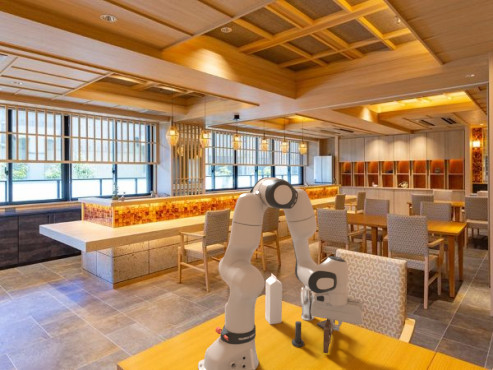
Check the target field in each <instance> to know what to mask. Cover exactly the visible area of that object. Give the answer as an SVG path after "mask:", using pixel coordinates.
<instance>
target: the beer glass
mask: <svg viewBox="0 0 493 370" xmlns="http://www.w3.org/2000/svg"><path fill="white" fill-rule="evenodd" d="M314 294H315V292H313V291H311V290H310V289H309V288H308V287H307V286H306V285H305V284H303V285H302V286H301V288H300V304H301V319H302V320H303V321H306V322H307V321H313V320H315V317H314V316H312V315H311V305H312V302H313V300H314Z"/></svg>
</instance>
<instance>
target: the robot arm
mask: <svg viewBox="0 0 493 370" xmlns="http://www.w3.org/2000/svg"><path fill="white" fill-rule="evenodd" d="M269 208H273V209H275V210H276V209H277V210H283V213H284V216H285V220H286V224H287V227H288V231H289V234H290V236H291V240H292V241H291V242H292V247H293V251H294V252H293V253H294V256H295V257H294V258H295V268H294V275H295V277H296V279H297V280H298V281H299V282H301V283H302V284H303V285H306V286H307V287H308V288H309V289H310V290H311V291H313V292H315V294H314V300H313V302H312V305H311V315H312V316H314V318H315V317H316V318H321V319H325V320H327V319H330V323H331V325H332V326H333V330H334V331H338V332H340V327H341V326H342V324H343V323H349V324H354V325H361V324H363V322H364V321H363V316H364V315H363V312H364V309H365V308H364V307H365V304H364V303H363V302H362V300H360V299H355V298H349V288H348V283H349V265H348V262H347V260H345V259H344V258H342V257H339V256H336V255H335V256H334V255H333V256H331V255H330V256H327V257H326V259H325V260H324V261H323V262H321V263H320V264H318V263H316V262H315V261H314V260H313V258H312V256H311V251H310V245H309V239H310V238H311V237H313V236H314V235H315V233H317V232H316V231H317V225H318V224H317V219H316V215H315V211H314V208H313V204H312V202H311V200H310V197H309V195H308V193H307V191H305V189H301V188H294V187H293V185H292V184H291V183H290V182H289V181H288V180H286V179H283V178H277V177H275V176H273V177H271V176H270V177H267V176H266V177H262V178H260V179H258V180H257V181H256V182H255V183H254V185H253V187H252V188H251V189H250V191H249V192H244V193H242V194H240V195H239V196H238V198H237V200H236V203H235V206H234V210H233V215H232V221H231V228H230V236H229V240H228V245H227V248H226V250H225V253H224V255H223V257H222V258H221V259H220V260H219V263H218V269H217V270H218V273H219V276H220V279H222V281H224V283H226V284H227V286H228V288H229V297H228V300H227V302H226V303H225V305H224V325H223V327H222V328H221V327H220V326H216V327H215V330H214V331H215V333H217V334H218V335H220V336H219V337H218V338H217V339H216V340H214V341H213V342H212V344H210V346H208V347H207V348H206V351H205V353H204V359H201V360H200V361H198V365H197V369H199V370H256V369H257V368H258V366H259V363H260V362H259V358H258V354H257V349H256V341H255V339H256V336H257V335H256V334H257V333H256V332H257V330H256V328H257V327H256V323H255V315H256V314H255V312H256V303H257V299H258V297H259V296H260V295H261V294H262V293H263V291H264V289H265V286H266V280H265V278H264V276H263V274H262V273H261V271H260V270H259V269H258V268H257V267H255V266H254V265H253V264H252V263H251V262H252V257H253V254H254V252H255V251H256V250H257V249H258V248H259V246H260V245H261V244H260V242H261V237H262V236H261V235H262V228H263V221H264V216H265V212H266V211H267V209H269ZM334 320H335V321H337V322H338V324H336V323H335V324H334V322H333V321H334Z"/></svg>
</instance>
